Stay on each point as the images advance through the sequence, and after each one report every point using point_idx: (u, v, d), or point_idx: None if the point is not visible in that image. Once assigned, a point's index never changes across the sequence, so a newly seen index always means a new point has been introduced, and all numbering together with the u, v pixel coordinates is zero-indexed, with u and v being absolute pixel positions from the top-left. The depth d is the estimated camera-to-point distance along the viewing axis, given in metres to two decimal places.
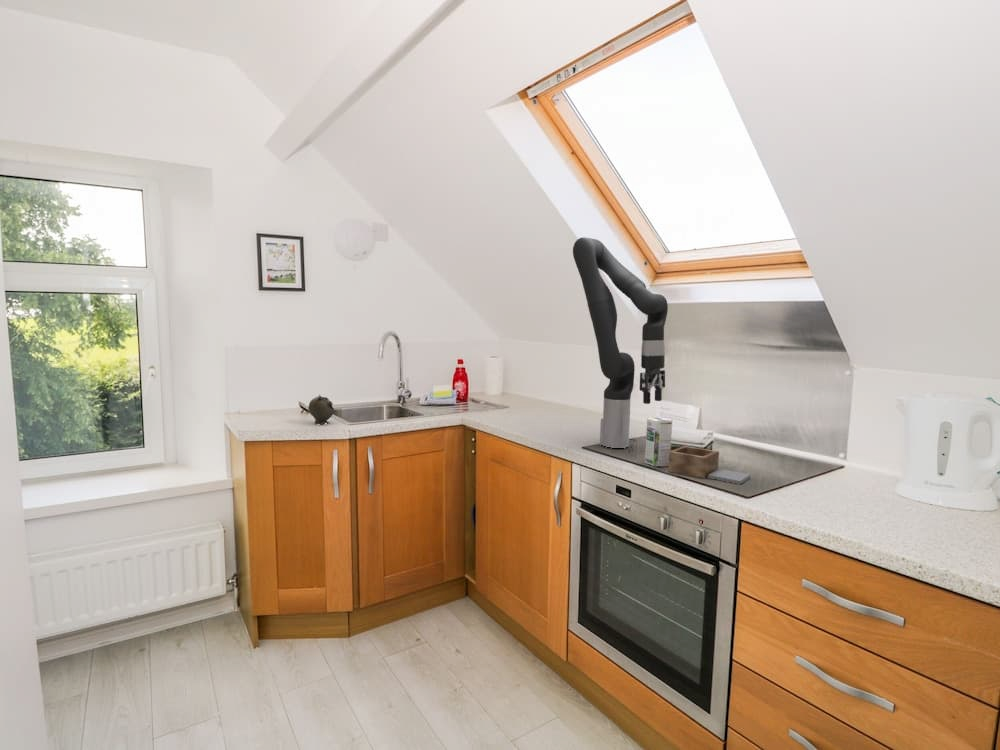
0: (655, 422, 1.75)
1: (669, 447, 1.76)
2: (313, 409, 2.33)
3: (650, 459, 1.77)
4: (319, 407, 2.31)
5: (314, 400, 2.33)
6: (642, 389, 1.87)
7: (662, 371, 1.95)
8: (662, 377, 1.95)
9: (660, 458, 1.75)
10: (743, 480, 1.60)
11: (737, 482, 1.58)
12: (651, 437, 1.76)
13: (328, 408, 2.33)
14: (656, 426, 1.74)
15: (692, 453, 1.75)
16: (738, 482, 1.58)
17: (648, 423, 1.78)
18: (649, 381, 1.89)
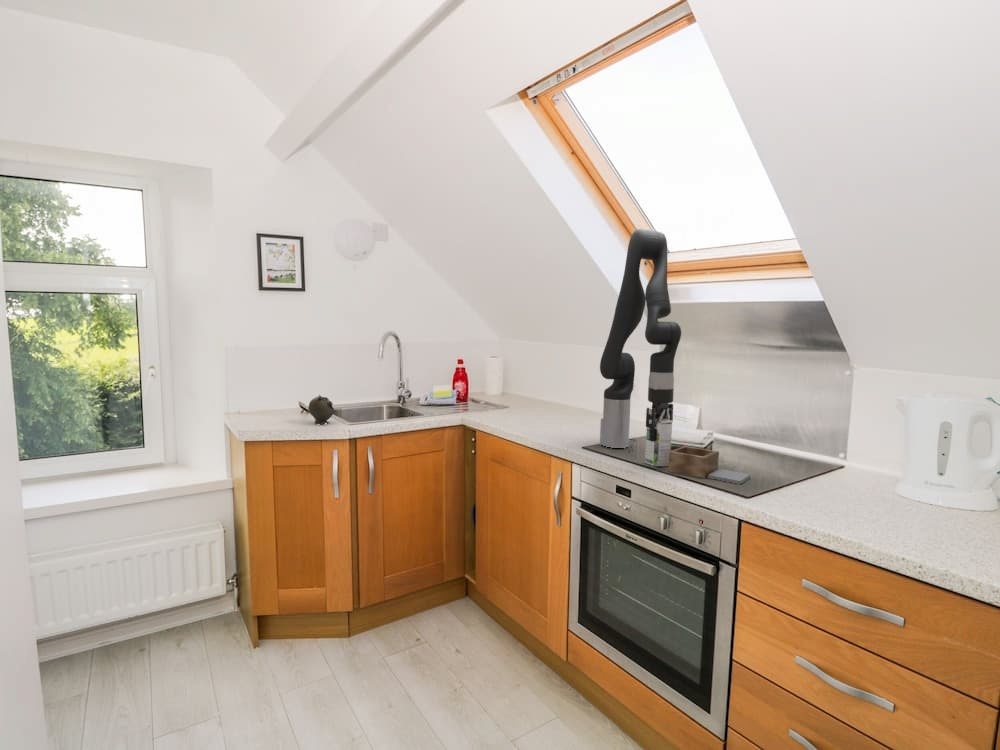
0: (655, 422, 1.75)
1: (669, 447, 1.76)
2: (313, 409, 2.33)
3: (650, 459, 1.77)
4: (319, 407, 2.31)
5: (314, 400, 2.33)
6: (649, 426, 1.72)
7: (670, 405, 1.80)
8: (670, 411, 1.81)
9: (660, 458, 1.75)
10: (743, 480, 1.60)
11: (737, 482, 1.58)
12: None
13: (328, 408, 2.33)
14: None
15: (692, 453, 1.75)
16: (738, 482, 1.58)
17: None
18: (656, 416, 1.75)
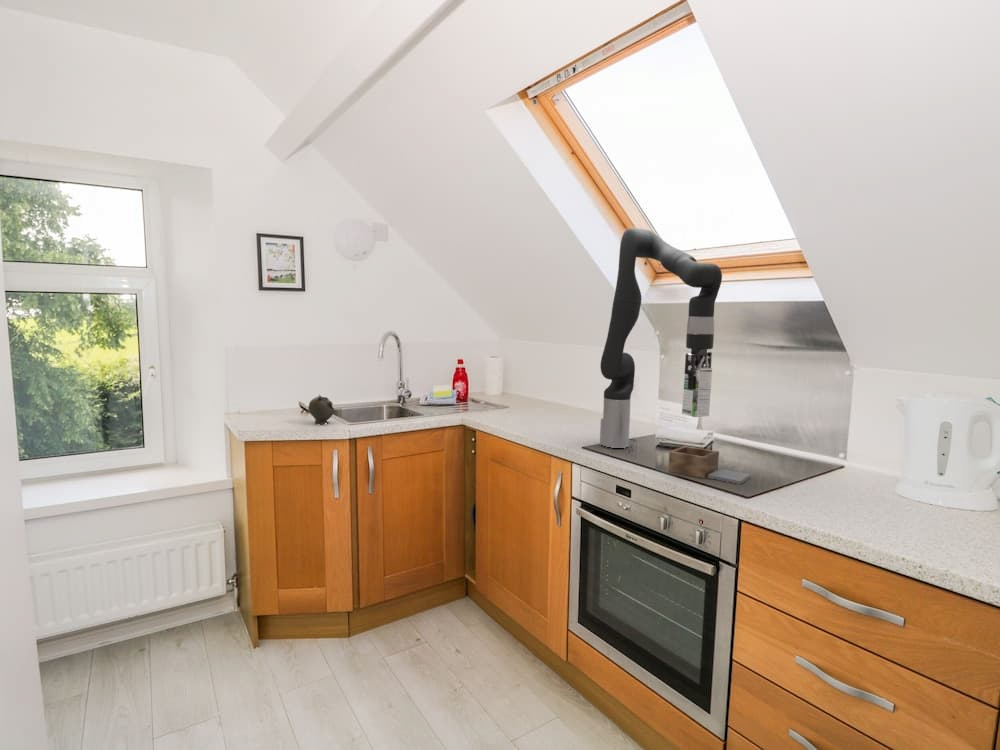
0: None
1: (708, 396, 1.67)
2: (313, 409, 2.33)
3: (688, 409, 1.68)
4: (319, 407, 2.31)
5: (314, 400, 2.33)
6: (688, 372, 1.63)
7: (709, 353, 1.71)
8: (708, 360, 1.72)
9: (699, 407, 1.66)
10: (743, 480, 1.60)
11: (737, 482, 1.58)
12: None
13: (328, 408, 2.33)
14: None
15: (692, 453, 1.75)
16: (738, 482, 1.58)
17: None
18: (695, 363, 1.66)
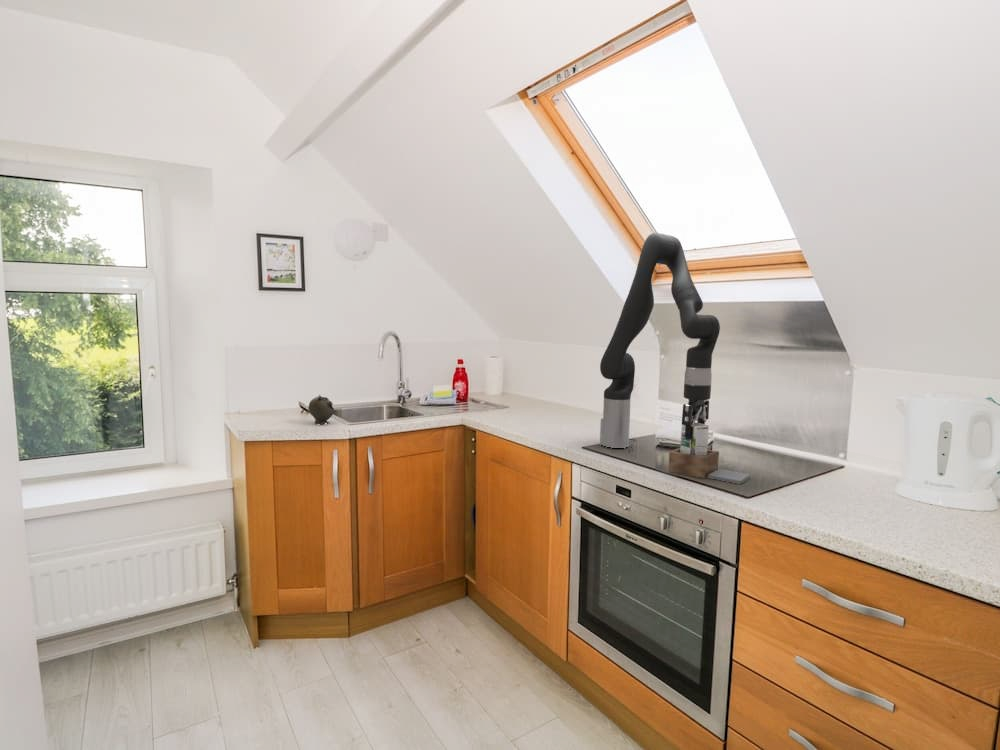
0: None
1: (705, 452, 1.69)
2: (313, 409, 2.33)
3: None
4: (319, 407, 2.31)
5: (314, 400, 2.33)
6: (685, 423, 1.64)
7: (706, 401, 1.73)
8: (706, 408, 1.73)
9: None
10: (743, 480, 1.60)
11: (737, 482, 1.58)
12: (686, 443, 1.69)
13: (328, 408, 2.33)
14: (693, 431, 1.67)
15: None
16: (738, 482, 1.58)
17: (683, 428, 1.71)
18: (692, 413, 1.67)
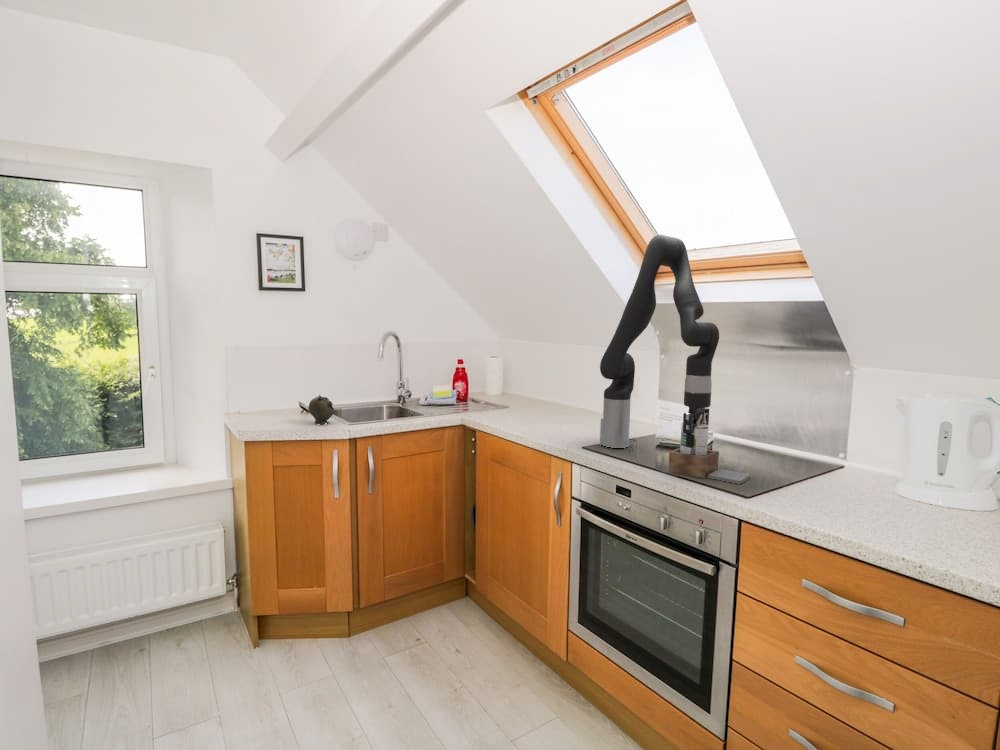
0: None
1: (705, 452, 1.69)
2: (313, 409, 2.33)
3: None
4: (319, 407, 2.31)
5: (314, 400, 2.33)
6: (686, 432, 1.65)
7: (706, 409, 1.73)
8: (706, 416, 1.73)
9: None
10: (743, 480, 1.60)
11: (737, 482, 1.58)
12: None
13: (328, 408, 2.33)
14: None
15: None
16: (738, 482, 1.58)
17: None
18: (693, 421, 1.67)
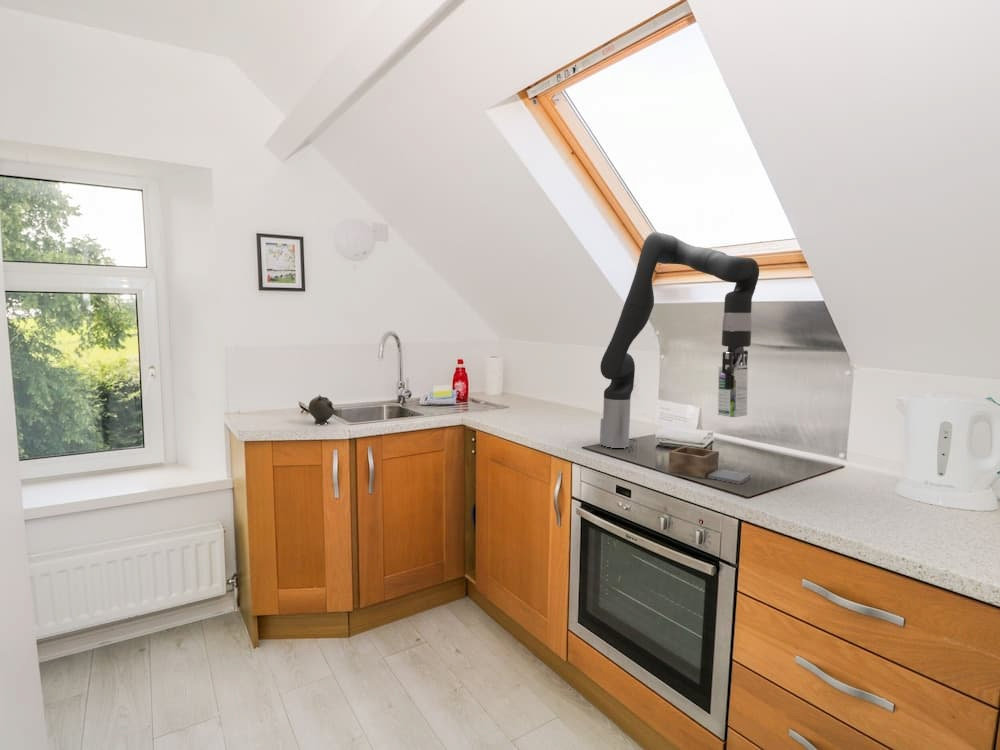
0: None
1: (745, 394, 1.61)
2: (313, 409, 2.33)
3: (726, 409, 1.61)
4: (319, 407, 2.31)
5: (314, 400, 2.33)
6: (725, 371, 1.56)
7: (745, 351, 1.65)
8: (744, 358, 1.65)
9: (737, 407, 1.60)
10: (743, 480, 1.60)
11: (737, 482, 1.58)
12: None
13: (328, 408, 2.33)
14: None
15: (692, 453, 1.75)
16: (738, 482, 1.58)
17: (720, 370, 1.62)
18: (732, 362, 1.59)
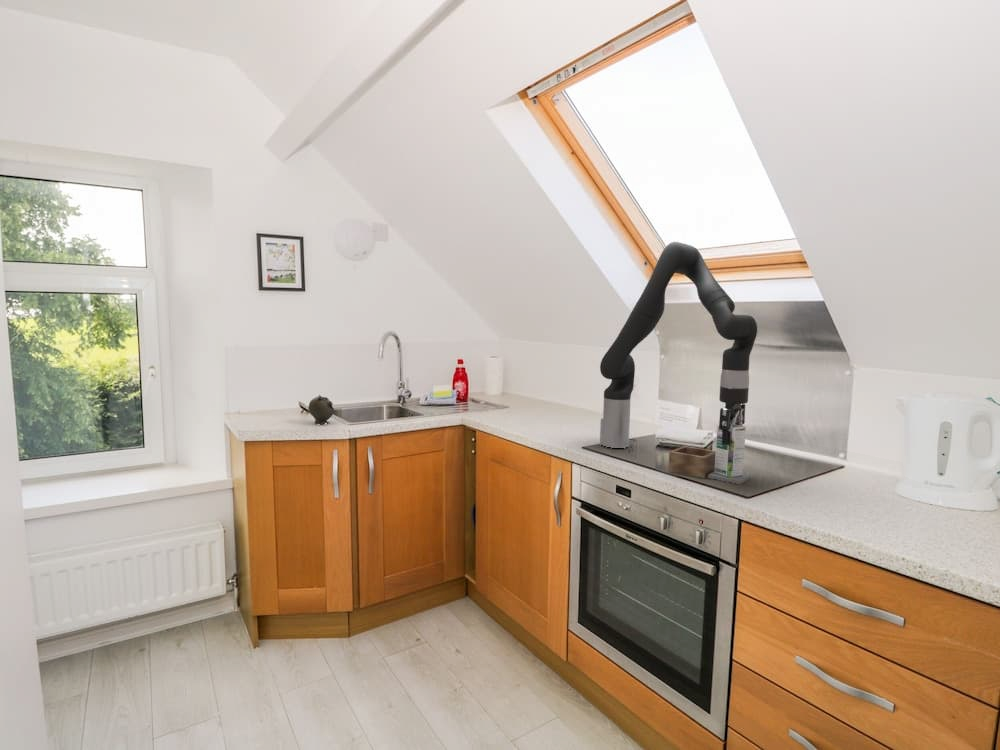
0: None
1: (742, 455, 1.63)
2: (313, 409, 2.33)
3: (723, 468, 1.63)
4: (319, 407, 2.31)
5: (314, 400, 2.33)
6: (722, 428, 1.58)
7: (742, 405, 1.66)
8: (742, 412, 1.66)
9: (734, 467, 1.61)
10: (743, 480, 1.60)
11: (737, 482, 1.58)
12: (723, 445, 1.62)
13: (328, 408, 2.33)
14: (731, 433, 1.60)
15: (692, 453, 1.75)
16: (738, 482, 1.58)
17: (719, 430, 1.64)
18: (729, 418, 1.60)
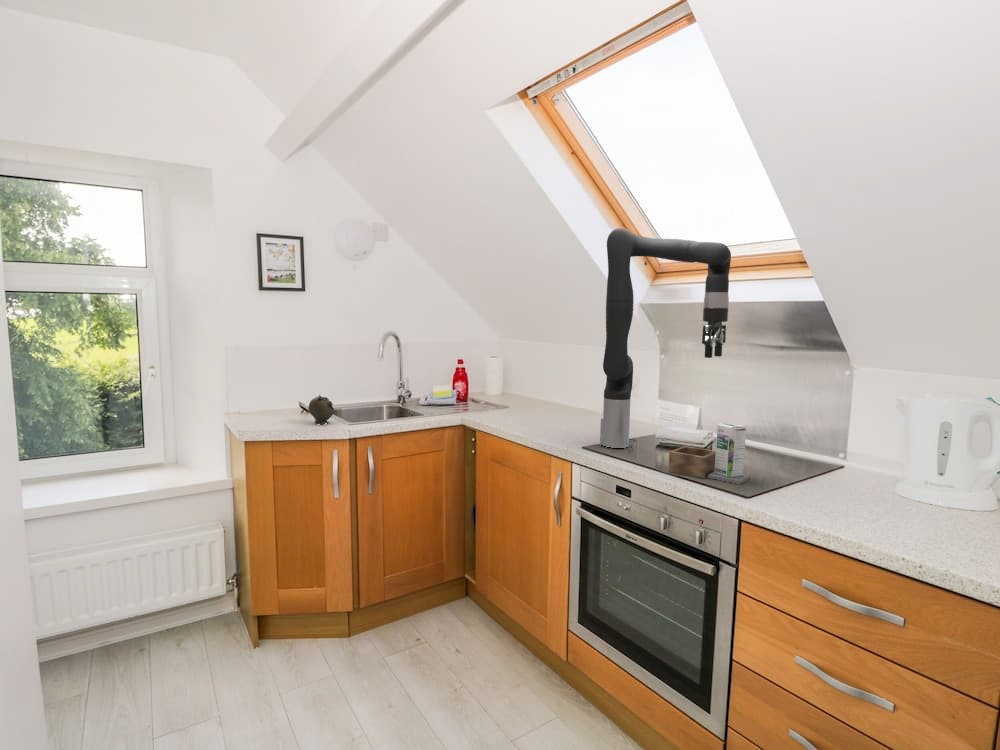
0: (729, 428, 1.61)
1: (743, 455, 1.63)
2: (313, 409, 2.33)
3: (723, 468, 1.63)
4: (319, 407, 2.31)
5: (314, 400, 2.33)
6: (705, 342, 1.80)
7: (723, 326, 1.89)
8: (723, 332, 1.89)
9: (734, 467, 1.61)
10: (743, 480, 1.60)
11: (737, 482, 1.58)
12: (724, 445, 1.62)
13: (328, 408, 2.33)
14: (732, 433, 1.60)
15: (692, 453, 1.75)
16: (738, 482, 1.58)
17: (719, 430, 1.64)
18: (711, 335, 1.83)
